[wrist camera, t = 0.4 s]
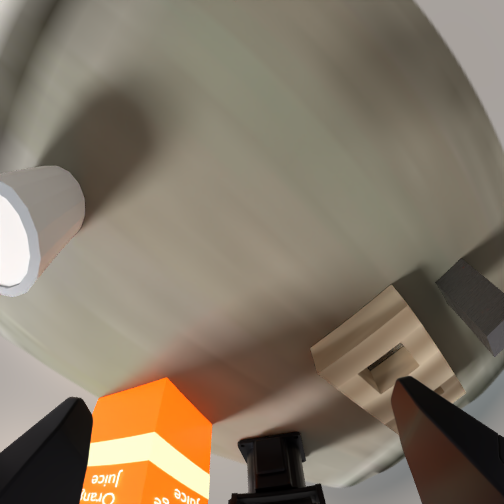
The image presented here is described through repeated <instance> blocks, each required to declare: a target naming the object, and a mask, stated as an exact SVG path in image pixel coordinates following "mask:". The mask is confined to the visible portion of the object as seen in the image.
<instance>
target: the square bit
mask: <svg viewBox="0 0 504 504" xmlns="http://www.w3.org/2000/svg"><path fill="white" fill-rule="evenodd" d="M435 283H436V284H437V286H438V288H439V290H440V291H441V293H442V295H443V296H444V298H445V300H446V302H447V304H448V305H449V306H450V307H451V308H452V309H453V310H454V311H455V312H456V313H457V314H458V316H459V317H460V318H461V319H462V320H463V321H464V322H465V323H466V325H467V326H468V327H469V328H470V329H471V330H472V331H473V332H474V334H475V335H476V336H477V337H478V338H479V339H480V341H481V342H482V343H483V344H484V345H485V346H486V348H487V349H488V350H489V351H490V352H491V354H492V355H493V356H494V357H495V356H496V355H497V354H498V353H499V352H501V351H502V350H503V349H504V293H503V292H502V291H501V290H499V289H498V288H497V287H496V286H495V285H493V284H492V283H491V282H490V281H489V280H488V279H486V278H485V277H484V276H483V275H481V274H480V273H479V272H478V271H477V270H475V269H474V268H473V267H472V266H470V265H469V264H468V263H467V262H465V261H464V260H463V259H460V260H459V261H458V262H457V263H456V264H455V265H454V266H453V267H451V268H450V269H449V270H448V271H447V272H446V273H445V274H444V275H443V276H442V277H441V278H440V279H439V280H438V281H436V282H435Z"/></svg>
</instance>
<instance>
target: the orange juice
mask: <svg viewBox="0 0 504 504" xmlns="http://www.w3.org/2000/svg"><path fill="white" fill-rule="evenodd" d="M92 416H93V428H92V436H91V443H90V451H89V459H88V465H87V470H86V475H85V480H84V484H83V489H82V494H81V499H80V504H208V499H209V481H210V475H209V468H210V466H209V465H210V450H211V433H212V424H211V423H210V422H209V421H208V420H207V419H206V418H205V417H204V416H203V415H202V414H201V413H200V412H199V411H198V410H197V409H196V408H195V407H194V406H193V405H192V404H191V403H190V402H189V401H188V400H187V399H186V398H185V396H184V395H183V394H182V393H181V392H180V391H179V390H178V389H177V388H176V387H175V386H174V385H173V384H172V383H171V381H170V380H169V379H168V378H167V377H166V378H163V379H160V380H157V381H154V382H151V383H148V384H145V385H142V386H138V387H135V388H132V389H129V390H126V391H122V392H119V393H115V394H112V395H109V396H105V397H102V398H99V399H98V401H97V404H96V406H95V409H94V411H93V414H92Z"/></svg>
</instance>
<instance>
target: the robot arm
mask: <svg viewBox="0 0 504 504" xmlns="http://www.w3.org/2000/svg"><path fill="white" fill-rule="evenodd" d="M391 406H392V410H393V413H394V417H395V421H396V425H397V429H398V433H399V437H400V441H401V445H402V448H403V451H404V454H405V457H406V459H407V462H408V465H409V468H410V470H411V473H412V475H413V478H414V481H415V484H416V487H417V490H418V493H419V496H420V498H421V502H422V504H504V437H502V436H501V435H498V433H496V432H495V431H493V430H492V429H490V428H488V427H487V426H485V425H484V424H482V423H481V422H480V421H478V420H476V419H475V418H473V417H472V416H470V415H469V414H467V413H466V412H464V411H463V410H461V409H460V408H458V407H457V406H455V405H454V404H452V403H451V402H449V401H448V400H446V399H445V398H443V397H442V396H440V395H439V394H437V393H436V392H434V391H433V390H431V389H430V388H428V387H427V386H425V385H424V384H422V383H421V382H420V381H418V380H417V379H415V378H414V377H412V376H405V377H400V378H398V379H397V380H396V382H395V385H394V389H393V392H392V396H391ZM92 428H93V416H92V414H91V412H90V411H89V409H88V407H87V405H86V404H85V402H84V401H83V399H81V398H78V397H69V398H68V399H66V400H65V401H64V402H62V403H61V404H60V405H59V406H57V407H56V408H55V409H54V410H52V411H51V412H50V413H49V414H48V415H46V416H45V417H44V418H43V419H41V420H40V421H39V422H38V423H36V424H35V425H34V426H33V427H31V428H30V429H29V430H28V431H27V432H25V433H24V434H23V435H22V436H20V437H19V438H18V439H17V440H16V441H14V442H13V443H12V444H11V445H9V446H8V447H7V448H6V449H4V450H3V451H2V452H1V453H0V504H80V499H81V494H82V489H83V484H84V480H85V475H86V470H87V465H88V459H89V451H90V443H91V436H92ZM238 448H239V450H240V451H241V453H242V455H243V457H244V459H245V461H246V463H247V468H248V493H246V494H238V493H232V498H231V499H230V500H229V502H228V504H326V503H325V499H324V495H323V491H322V487H321V483H320V484H315V485H313V486H307V487H306V485H305V479H304V473H303V466H302V462H305V461H306V458H305V453H304V449H303V444H302V440H301V435H300V433H299V432H292V433H287V434H282V435H276V436H270V437H263V438H257V439H250V440H242V441H239V442H238Z"/></svg>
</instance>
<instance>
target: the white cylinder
mask: <svg viewBox="0 0 504 504" xmlns="http://www.w3.org/2000/svg"><path fill="white" fill-rule="evenodd" d="M84 217H85V198H84V196H83V193H82V190H81V187H80V185H79V183H78V182H77V180H76V179H75V178H74V177H73V176H72V174H71V173H70V172H69V171H67V170H65V169H63V168H61V167H59V166H40V167H33V168H28V169H22V170H16V171H11V172H6V173H1V174H0V294H1V295H5V296H10V297H15V296H18V295H21V294H24V293H27V292H28V290H29V289H30V288H31V287H32V285H33V284H34V283H35V281H36V280H37V279H38V278H39V276H40V275H41V274H42V273H43V271H44V270H45V269H46V268H47V267H48V265H49V264H50V263H51V262H52V261H53V259H54V258H55V257H56V256H57V255H58V253H59V252H60V251H61V250H62V249H63V248H64V246H65V245H66V244H67V243H68V242H69V241H70V240H71V239H72V237H73V236H74V235H75V234H76V233H77V232H78V231H79V230H80V228H81V226H82V223H83V220H84Z"/></svg>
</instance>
